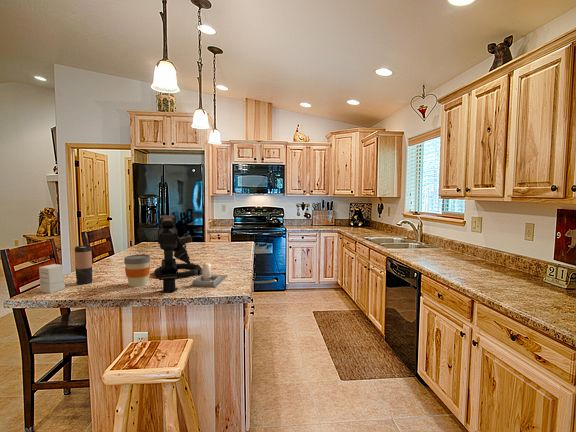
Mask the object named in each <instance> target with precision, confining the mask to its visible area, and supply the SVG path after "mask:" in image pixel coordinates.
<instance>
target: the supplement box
mask: <svg viewBox="0 0 576 432" xmlns="http://www.w3.org/2000/svg"><path fill="white" fill-rule="evenodd" d="M38 271H39V284H40V285H39V287H40V288H39V289H40V292H41V293H44V294H53V293H56V292H59V291H64V290H65V289H66V287H65V269H64V264H57V263H53V264H48V265H43V266H38Z"/></svg>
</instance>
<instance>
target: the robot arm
mask: <svg viewBox="0 0 576 432" xmlns="http://www.w3.org/2000/svg"><path fill="white" fill-rule="evenodd" d="M158 227H159V229H158V230H157V244H158V245H159V249H161V250H162V251H163V258H162V259H161V265H160V266H159V267H160V268H159V277H158V280H160V281H162V287H163V289H162V290H160V293H167V294H168V293H169V294H170V293H171V294H172V293H174V292H176V291H178V290H179V288H178V287H176V280H178V279H179V278H178V272H179V269H178V265H176V264H177V261H176V260H179V261H182V263H186V264H191V261H190V256H189V254H188V250H187V244H191V243H192V242H193V237H192V235H191V234H188V233H184V234H183V236H181V237H180V236H179V232H178V231H179V230H178V228H177V227H176V217H175V215H170V214H168V215H160V217H159V218H158ZM176 272H177V275H174V274H176ZM161 273H162V275H167V276H161Z"/></svg>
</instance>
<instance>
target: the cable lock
mask: <svg viewBox="0 0 576 432" xmlns="http://www.w3.org/2000/svg"><path fill="white" fill-rule="evenodd" d="M176 265H178V270H181V269H183V270H184V269H185V270H186V271H185V270H184V271H180V272H179V271H178V279H182V278H183V279H184V278H191V277H194V276H195V277H196V276H201V275H203V267H201V265H199V264H195V263H190V264H187V263H185V262H182V263H176ZM159 268H160V266H159V267H157V268H156V269H154V270H153V272H154V273H153V274H154V276H155V277H157V278H159ZM174 275H177V272H176V274H174ZM161 276H167V275H162V273H161Z"/></svg>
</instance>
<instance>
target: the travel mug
mask: <svg viewBox="0 0 576 432" xmlns="http://www.w3.org/2000/svg"><path fill="white" fill-rule="evenodd" d="M92 257H93V255H92V246H91V245H90V244H89V245H88V244H87V245H85V244H84V245H78V246H75V247H74V264H75V265H74V266H75V278H76V285H78V286H79V285H80V286H81V285H82V286H83V285H84V284H85V285H89V284H92V283H93V259H92Z"/></svg>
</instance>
